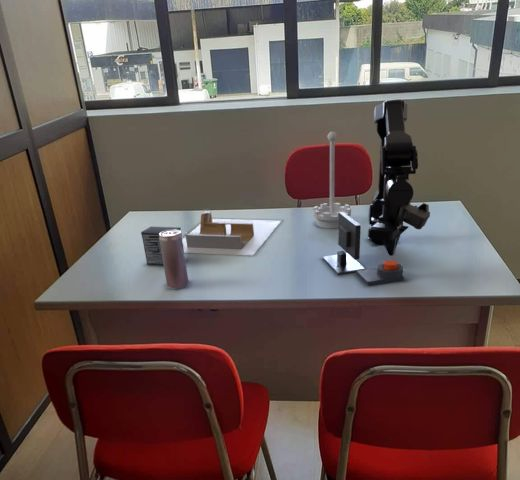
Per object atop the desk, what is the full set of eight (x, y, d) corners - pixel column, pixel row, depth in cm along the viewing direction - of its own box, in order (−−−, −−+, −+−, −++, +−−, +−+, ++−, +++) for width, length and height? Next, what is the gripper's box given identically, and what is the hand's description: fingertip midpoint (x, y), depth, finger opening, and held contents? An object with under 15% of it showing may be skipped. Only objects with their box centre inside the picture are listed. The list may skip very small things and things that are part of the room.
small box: (186, 259, 161) (181, 226, 156) (177, 267, 156) (171, 233, 151) (156, 257, 165) (150, 225, 159) (146, 265, 159) (140, 232, 154)
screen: (343, 244, 153) (343, 212, 148) (359, 259, 142) (361, 225, 137) (334, 245, 153) (334, 213, 148) (350, 260, 142) (351, 226, 137)
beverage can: (168, 281, 147) (159, 230, 139) (189, 279, 147) (181, 228, 140) (166, 290, 142) (157, 237, 134) (188, 288, 142) (180, 235, 134)
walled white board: (166, 251, 169) (163, 229, 165) (206, 218, 197) (204, 198, 193) (252, 255, 161) (250, 231, 157) (281, 220, 189) (280, 199, 185)
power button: (393, 265, 140) (394, 259, 139) (399, 270, 137) (400, 263, 136) (381, 267, 139) (381, 261, 139) (386, 272, 136) (387, 265, 136)
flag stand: (353, 227, 177) (355, 133, 162) (314, 230, 178) (313, 136, 162) (348, 216, 188) (350, 127, 173) (312, 218, 189) (310, 130, 173)
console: (393, 269, 144) (393, 259, 143) (406, 280, 137) (407, 269, 136) (356, 274, 143) (356, 264, 141) (368, 286, 136) (368, 275, 134)
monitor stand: (348, 255, 155) (348, 243, 153) (365, 271, 144) (365, 258, 142) (322, 259, 154) (322, 246, 152) (337, 275, 143) (337, 262, 141)
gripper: (415, 208, 118) (409, 272, 126) (439, 188, 131) (432, 247, 139) (368, 203, 123) (366, 265, 131) (396, 185, 136) (392, 242, 144)
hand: (391, 255), depth 136 cm, fingers closed
